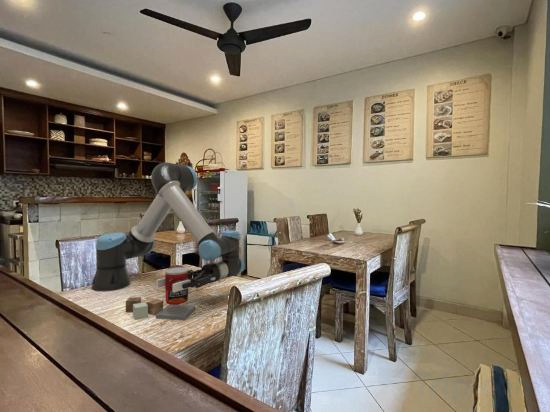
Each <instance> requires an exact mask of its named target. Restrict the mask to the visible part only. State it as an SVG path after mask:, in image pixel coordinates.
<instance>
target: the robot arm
mask: <svg viewBox="0 0 550 412" xmlns="http://www.w3.org/2000/svg"><path fill="white" fill-rule="evenodd" d="M150 178H151V179H150V180H151V184H152V186H153V187H152V188H154V191H155V192H156V193H157V195H156V196H155V197H154V199H153V201H152V202H151V204H150V205H149V207H148V208H147V209H146V211H145V213H144V215H143V216H142V218H141V219H140V221H139V223H138V224H137V225H135V226H133V227H132V228H131V229H130V230H129V231H128V233H127V234H126V233H125V232H112V233H111V232H110V233H105V234H102V235H100V236H98V237H97V238H96V244H95V253H96V254H95V256H96V259H95V260H96V266H95V267H96V268H95V269H96V270H95V273H94V276H93V279H92V282H91V289H92V290H94V291H98V292H99V291H100V292H104V291H106V292H107V291H114V290H120V289H121V290H122V289H123V288H126V287H128V286H130V284H131V279H130V276H129V272H128V270H127V263H126V262H127V260H131V259H136V258H140V257H143V256H146V255H148V254H150V253H151V252H152V251H153V250H154V248H155V242H156V241H155V237H156V236H155V233H156V232H157V231H158V229H159V227H160V226H161V224H162V223H163V222H164V220H165V219H166V217H167V215H168V214H169V212H170V210H172V211H173V212H174V214H175V215H176V216H177V217H178V219H179V220H180V221H181V222H182V224H183V225H184V227H185V228H186V230H187V231H188V232H189V234H190V235H191V236H192V238H193V239H194V240H195V243H197V245H198V250H197V251H198V256H199V257H200V258H201V259H203V260H205V261H212V260H213V261H214V260H216V259H219V258H221V260H218V261H214V262H210V263H206V264H204V265H202V267H201V269H196V270H193V269H188V280H185V281H182V282H178V283H175V284H172V292H173V293H174V292H178V291H181V290H184V289H187V288H188V289H190V288H191V289H192V288H193V289H194V288H196V289H200V288H201V287H204V286H206V285H208V284H209V285H210V284H212V283H216V282H221V280H225V279H227V278H231V277H235V276H237V275H239V274H241V273H243V272H244V270H245V262H244V259H243V258H241V257H240V241H241V240H240V233H239V231H238V230H234V229H233V230H223V231H222V232H221V235H220V237H218V235H216V233H215V232H214V230H213V229H212V228H211V227H210V225H209V224H208V223H207V221H206V220H205V219H204V218H203V216H202V215H201V213H200V212H199V211H198V209H197V208H196V206H195V205H194V204H193V202H192V201H191V200H190V199H189V197H188V196H187V195H186V194H187V192H190V191H192V190H194V189H195V188H196V187H197V184H198V176H197V172H196V170H195V169H194V168H193V167H191V166H189V165H186V164H180V163H172V162H162V163H159V164H157V165H156V166H155V167H154V168H153V170H152V172H151V177H150ZM163 287H165V277H163V278H159V279H156V289H159V288H163Z"/></svg>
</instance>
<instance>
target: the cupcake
mask: <svg viewBox="0 0 550 412" xmlns="http://www.w3.org/2000/svg"><path fill="white" fill-rule="evenodd" d="M173 264H174V265H170V266H169V267H168V268H167V269H170V268H178V267H182V268H185V267H184V266H182V265H180V264H176V257H175V256H174V257H173Z"/></svg>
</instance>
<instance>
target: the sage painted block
mask: <svg viewBox="0 0 550 412" xmlns="http://www.w3.org/2000/svg"><path fill="white" fill-rule="evenodd" d="M146 302H147V301H144V302H141V303H138V304H133V312H132V316H133V318H134V320H135V321H136V320H140V319H145V318H149V317H148V316H149V314H148V305H147V304H146Z"/></svg>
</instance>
